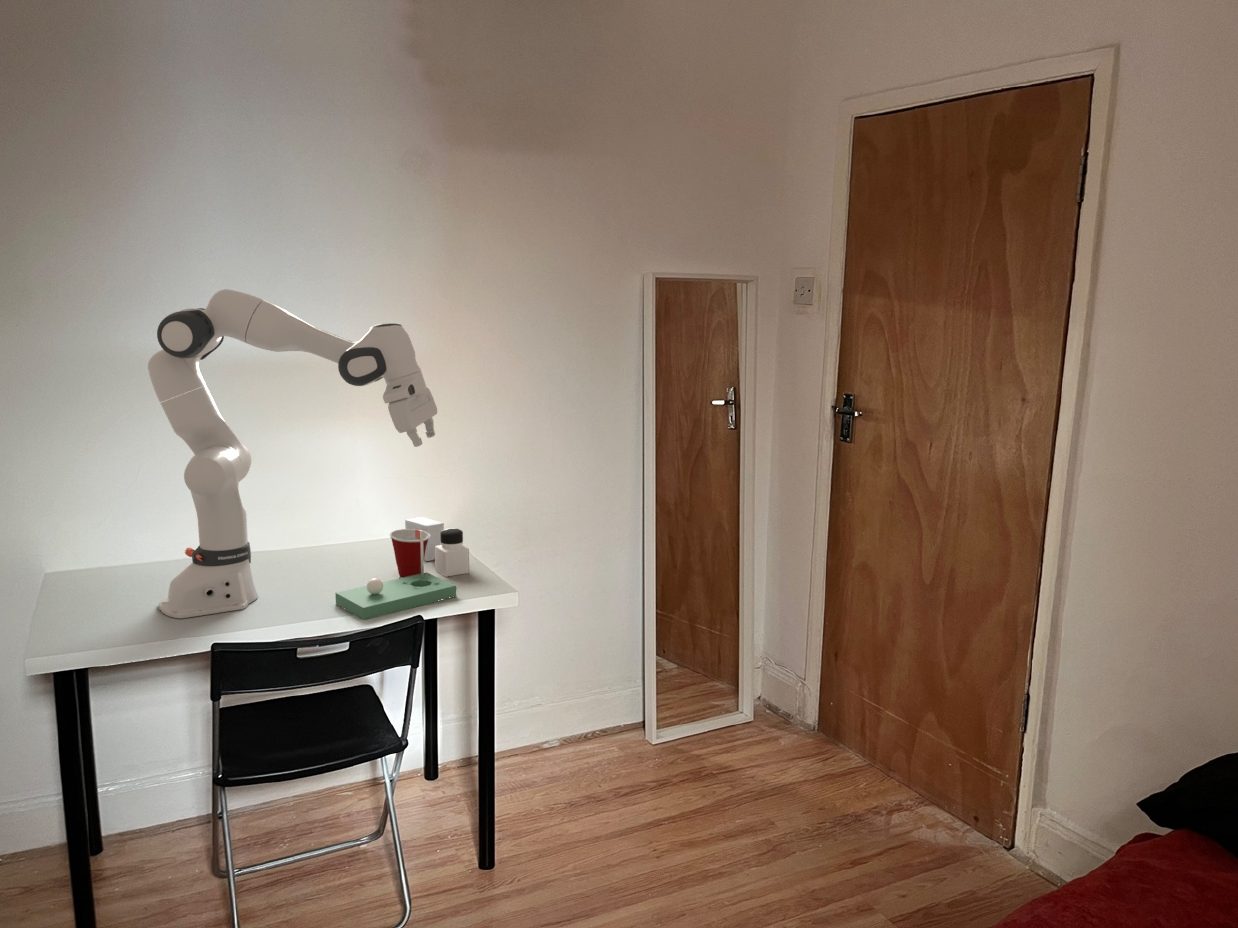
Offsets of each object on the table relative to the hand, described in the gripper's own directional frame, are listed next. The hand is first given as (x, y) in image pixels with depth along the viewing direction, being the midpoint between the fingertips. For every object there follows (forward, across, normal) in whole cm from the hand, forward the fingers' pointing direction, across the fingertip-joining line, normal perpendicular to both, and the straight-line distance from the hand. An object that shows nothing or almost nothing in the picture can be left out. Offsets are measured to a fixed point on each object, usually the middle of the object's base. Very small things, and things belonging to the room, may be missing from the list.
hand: (425, 441), depth 237 cm
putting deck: (+36, +5, -19) cm, 41 cm away
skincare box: (+37, -33, -25) cm, 56 cm away
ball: (+30, +10, -21) cm, 38 cm away
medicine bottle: (+40, -20, -13) cm, 47 cm away
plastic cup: (+37, -14, -22) cm, 45 cm away
